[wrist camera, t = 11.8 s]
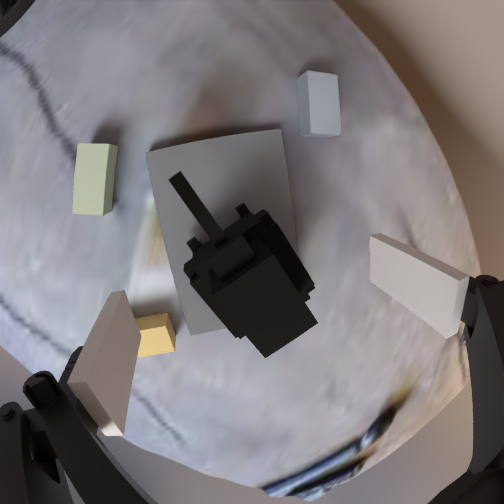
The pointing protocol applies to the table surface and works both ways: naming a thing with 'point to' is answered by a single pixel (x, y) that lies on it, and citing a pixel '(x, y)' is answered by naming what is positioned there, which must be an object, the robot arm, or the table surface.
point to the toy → (248, 275)
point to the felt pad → (218, 200)
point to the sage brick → (94, 179)
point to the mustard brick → (156, 334)
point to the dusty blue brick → (318, 105)
